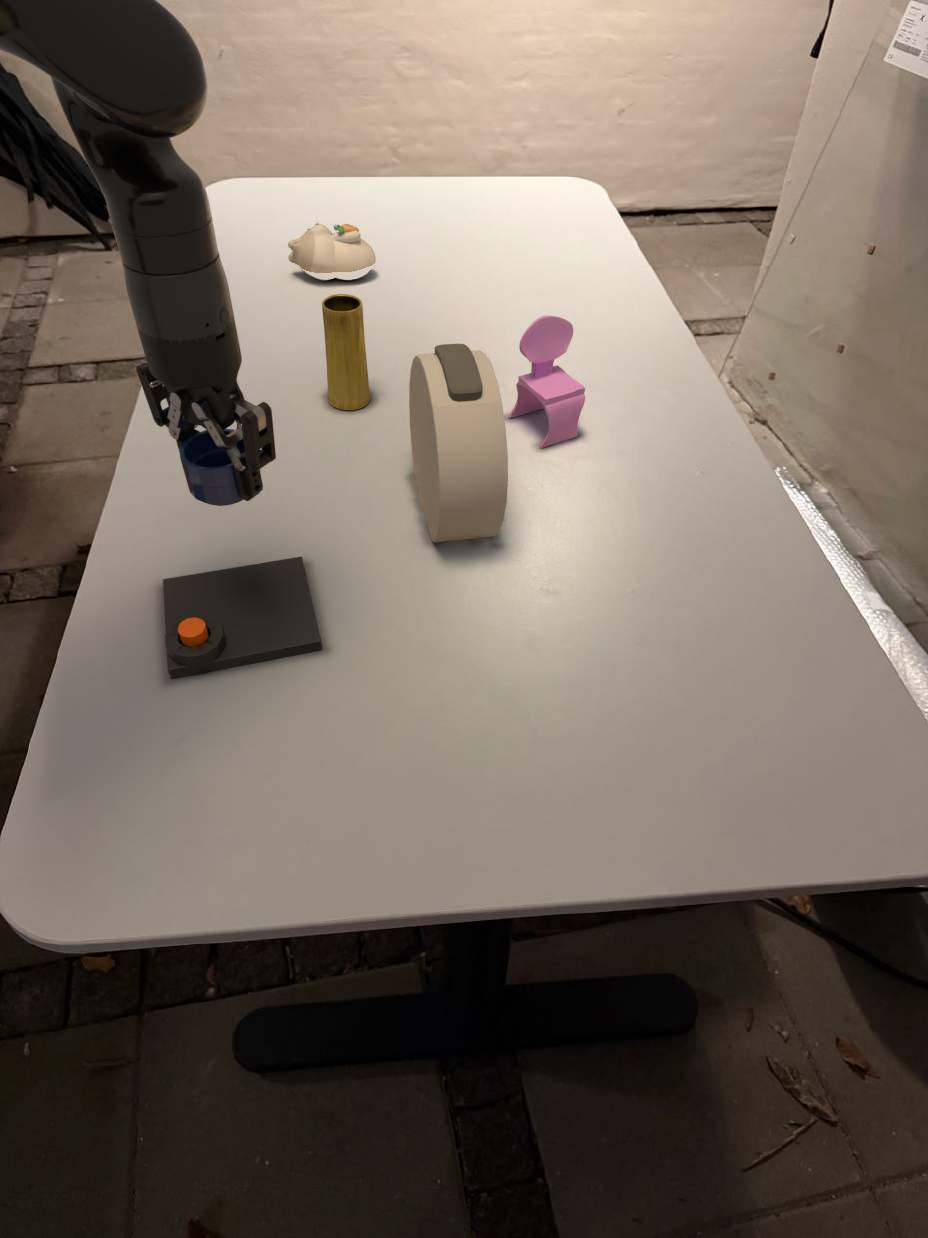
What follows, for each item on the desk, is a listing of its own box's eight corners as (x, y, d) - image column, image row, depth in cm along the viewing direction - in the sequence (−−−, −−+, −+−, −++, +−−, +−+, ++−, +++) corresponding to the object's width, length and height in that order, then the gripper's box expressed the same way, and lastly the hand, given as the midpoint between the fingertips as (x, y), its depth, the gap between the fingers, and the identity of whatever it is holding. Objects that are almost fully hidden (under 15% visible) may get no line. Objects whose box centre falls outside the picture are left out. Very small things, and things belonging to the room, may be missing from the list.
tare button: (182, 649, 76) (178, 639, 75) (180, 630, 77) (177, 620, 76) (209, 644, 76) (206, 634, 75) (207, 625, 78) (204, 615, 77)
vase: (371, 410, 110) (366, 313, 99) (328, 412, 109) (318, 314, 98) (369, 387, 114) (364, 291, 103) (327, 388, 113) (317, 292, 102)
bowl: (192, 513, 72) (181, 474, 68) (188, 472, 76) (177, 433, 72) (262, 502, 73) (255, 463, 70) (254, 463, 77) (247, 424, 74)
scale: (171, 680, 76) (163, 661, 74) (165, 587, 85) (159, 568, 83) (322, 651, 80) (319, 632, 77) (303, 565, 88) (300, 545, 86)
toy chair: (536, 452, 104) (550, 349, 93) (501, 419, 109) (510, 317, 98) (585, 436, 108) (604, 334, 96) (549, 404, 112) (563, 304, 101)
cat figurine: (377, 218, 132) (287, 209, 128) (379, 260, 130) (288, 252, 127) (371, 255, 141) (287, 247, 137) (373, 294, 139) (288, 287, 136)
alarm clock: (501, 558, 90) (517, 410, 76) (438, 565, 89) (442, 416, 74) (464, 450, 104) (471, 308, 89) (409, 455, 103) (407, 311, 88)
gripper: (84, 304, 62) (140, 473, 74) (215, 361, 57) (251, 532, 69) (157, 271, 66) (199, 437, 78) (285, 322, 61) (307, 489, 73)
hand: (223, 481), depth 74 cm, fingers closed on bowl, 6 cm apart
